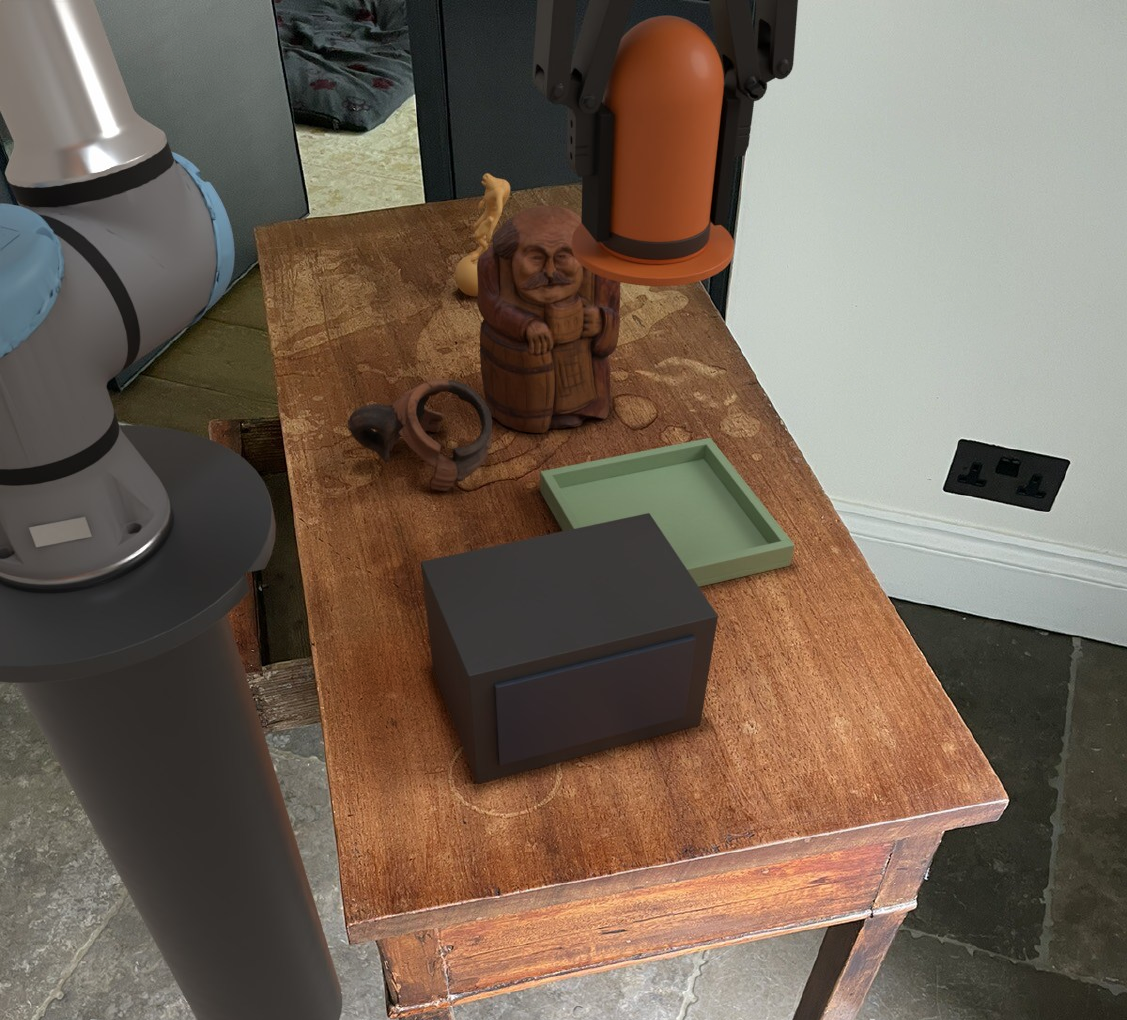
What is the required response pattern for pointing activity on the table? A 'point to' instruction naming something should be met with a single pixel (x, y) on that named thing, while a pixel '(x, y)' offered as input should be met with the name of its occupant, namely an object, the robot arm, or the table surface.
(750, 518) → the tray
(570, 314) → the wooden figurine
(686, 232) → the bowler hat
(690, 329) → the table surface
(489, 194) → the figurine
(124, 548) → the robot arm
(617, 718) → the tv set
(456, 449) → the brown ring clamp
